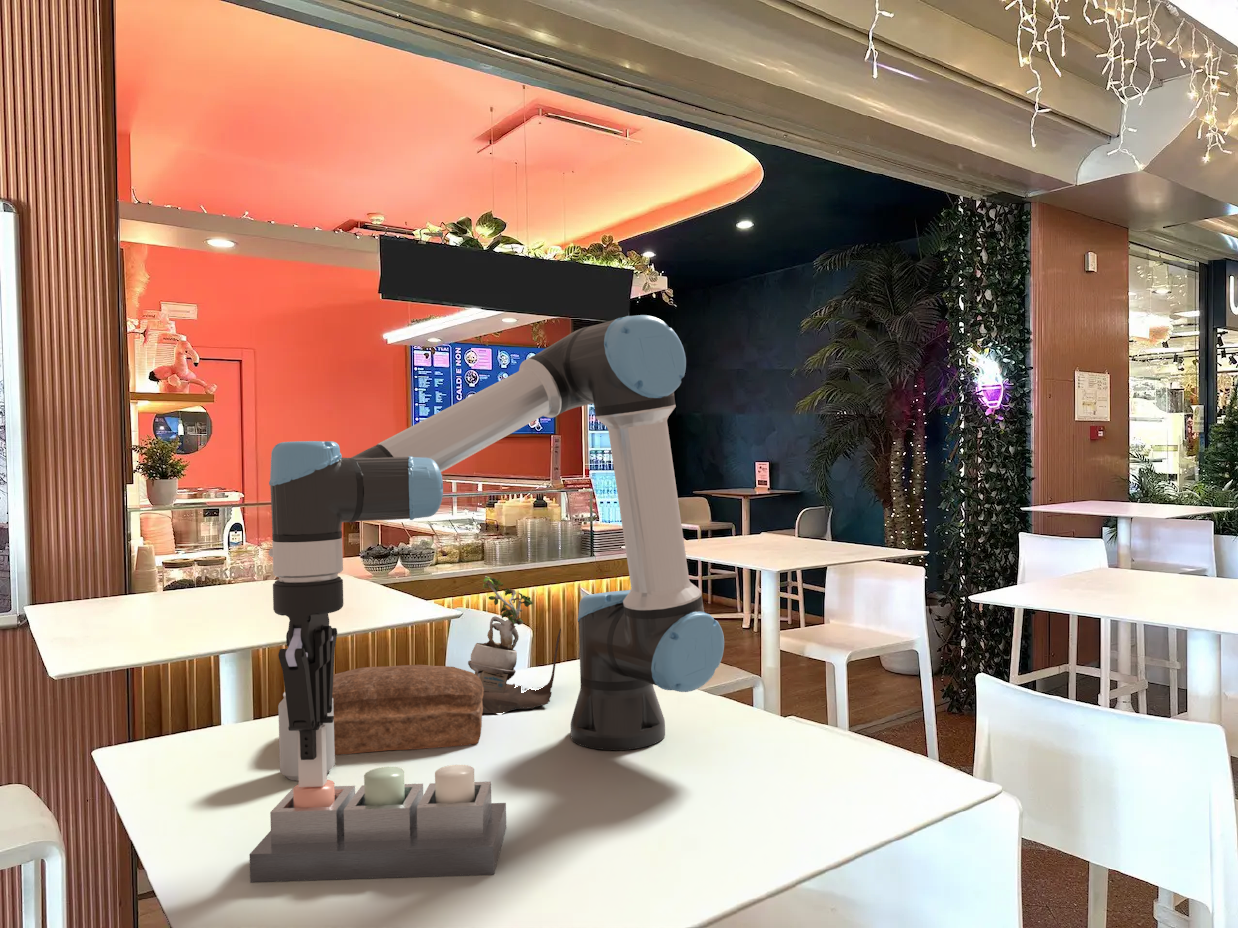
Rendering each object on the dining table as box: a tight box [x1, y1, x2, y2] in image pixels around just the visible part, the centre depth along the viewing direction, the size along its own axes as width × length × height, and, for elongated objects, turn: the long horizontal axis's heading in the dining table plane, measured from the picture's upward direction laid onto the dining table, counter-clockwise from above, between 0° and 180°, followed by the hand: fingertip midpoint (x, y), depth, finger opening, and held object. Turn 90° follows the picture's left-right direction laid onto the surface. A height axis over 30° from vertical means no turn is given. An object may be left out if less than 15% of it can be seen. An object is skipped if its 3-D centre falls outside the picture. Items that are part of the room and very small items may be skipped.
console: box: [248, 781, 507, 883], centre depth 100 cm, size 26×12×6 cm, turn 91°
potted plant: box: [467, 575, 562, 715], centre depth 165 cm, size 20×19×25 cm
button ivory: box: [434, 764, 475, 804], centre depth 100 cm, size 4×4×4 cm
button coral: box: [292, 779, 335, 808], centre depth 100 cm, size 4×4×4 cm
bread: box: [332, 664, 484, 756], centre depth 143 cm, size 17×29×11 cm, turn 98°
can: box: [277, 692, 336, 782], centre depth 127 cm, size 8×8×12 cm
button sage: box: [363, 766, 405, 806], centre depth 100 cm, size 4×4×4 cm
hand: (312, 784), depth 100 cm, fingers closed
